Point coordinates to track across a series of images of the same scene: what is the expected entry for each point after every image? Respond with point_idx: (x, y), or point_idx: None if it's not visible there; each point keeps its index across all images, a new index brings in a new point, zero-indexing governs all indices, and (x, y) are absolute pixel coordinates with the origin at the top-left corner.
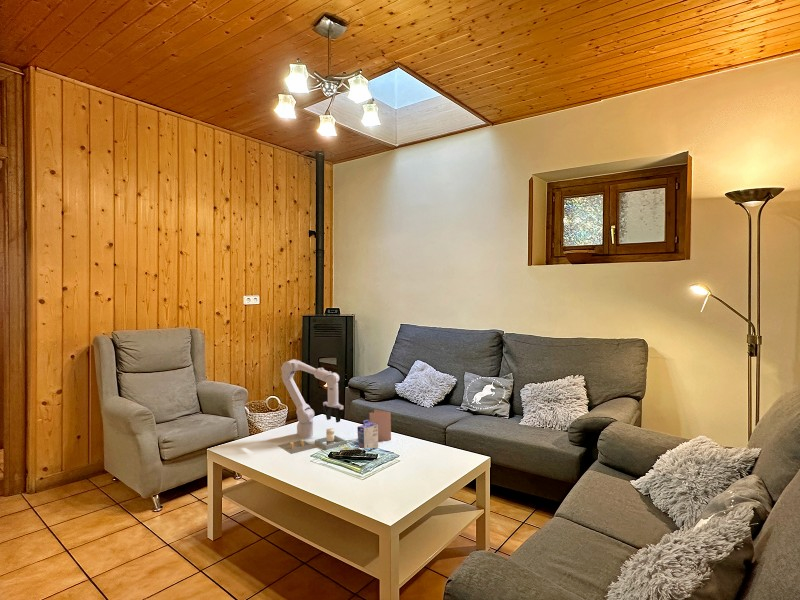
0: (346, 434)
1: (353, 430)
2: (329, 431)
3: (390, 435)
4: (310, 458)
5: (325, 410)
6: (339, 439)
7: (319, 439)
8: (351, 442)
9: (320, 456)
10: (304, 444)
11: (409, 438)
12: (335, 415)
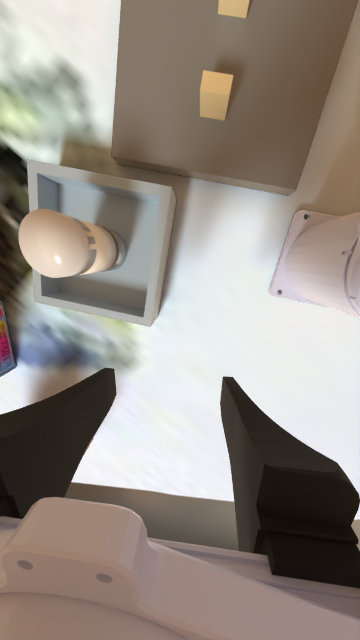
0: (193, 407)
1: (208, 452)
2: (29, 217)
3: None
4: (34, 35)
5: (255, 439)
6: (95, 304)
7: (157, 217)
8: (97, 350)
9: (29, 110)
10: (214, 134)
11: None
12: (69, 400)
